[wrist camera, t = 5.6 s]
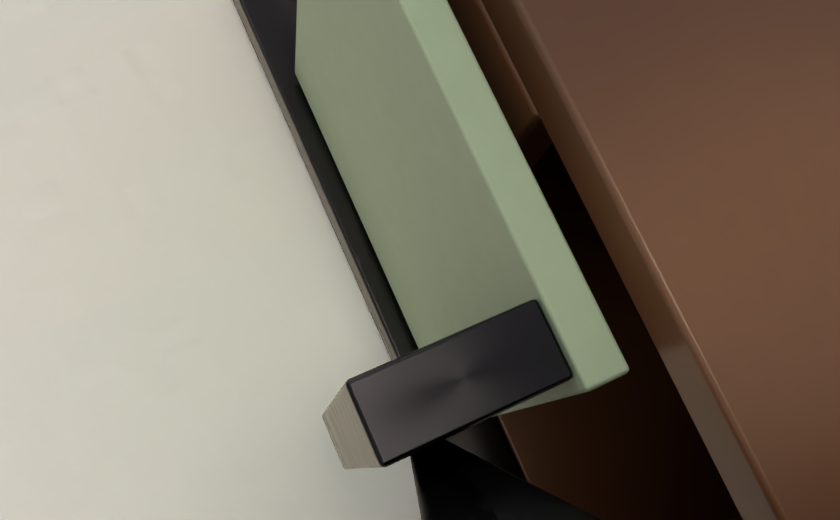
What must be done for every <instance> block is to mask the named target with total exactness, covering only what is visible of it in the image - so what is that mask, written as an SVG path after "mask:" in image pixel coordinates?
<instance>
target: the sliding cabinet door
mask: <svg viewBox="0 0 840 520" xmlns="http://www.w3.org/2000/svg"><path fill="white" fill-rule="evenodd" d="M295 74H296V76H297V78H298V81H299V83H300V85H301V87H302V90H303V92H304V94H305V96H306V98H307V101H308V103H309V105H310V107H311V110H312V112H313V114H314V116H315V119H316V121H317V123H318V125H319V127H320V130H321V132H322V134H323V136H324V139H325V141H326V143H327V145H328V148H329V150H330V152H331V154H332V156H333V159H334V161H335V163H336V165H337V168H338V170H339V172H340V174H341V177H342V179H343V181H344V183H345V185H346V188H347V190H348V192H349V194H350V197H351V199H352V201H353V203H354V206H355V208H356V210H357V212H358V214H359V217H360V219H361V221H362V223H363V226H364V228H365V230H366V232H367V235H368V237H369V239H370V241H371V244H372V246H373V248H374V250H375V252H376V255H377V257H378V259H379V261H380V264H381V266H382V268H383V270H384V273H385V275H386V277H387V279H388V281H389V284H390V286H391V288H392V290H393V293H394V295H395V297H396V299H397V302H398V304H399V306H400V308H401V310H402V313H403V315H404V317H405V319H406V322H407V324H408V326H409V328H410V331H411V333H412V335H413V337H414V339H415V342H416V344H417V346H418V348H419V349H417V350H415V351H412V352H410V353H408V354H405V355H403V356H401V357H399V358H396V359H394V360H392V361H389V362H387V363H385V364H383V365H380V366H378V367H376V368H373V369H371V370H369V371H366V372H364V373H362V374H360V375H357V376H355V377H353V378H350V379H348V380H347V381H346V382H345V384H344V385H343V387H342V388H341V390H340V391H339V392H338V394H337V395H336V397H335V398H334V399H333V401H332V402H331V404H330V405H329V407H328V408H327V409H326V411H325V412H324V414H323V420H324V422H325V425H326V427H327V429H328V432H329V434H330V437H331V439H332V441H333V444H334V446H335V449H336V451H337V453H338V456H339V458H340V461H341V463H342V465H343V467H344V468H345V469H355V468H376V467H387V466H389V465H391V464H394V463H396V462H398V461H400V460H402V459H404V458H406V457H408V456H410V455H413V454H415V453H417V452H419V451H421V450H423V449H425V448H427V447H430V446H432V445H434V444H436V443H438V442H440V441H442V440H444V439H446V438H449V437H451V436H453V435H455V434H457V433H459V432H461V431H463V430H465V429H468V428H470V427H472V426H474V425H476V424H478V423H480V422H482V421H484V420H487V419H489V418H491V417H494V416H498V415H502V414H505V413H509V412H513V411H517V410H521V409H524V408H528V407H532V406H536V405H540V404H544V403H547V402H551V401H555V400H559V399H563V398H566V397H570V396H574V395H578V394H582V393H585V392H589V391H592V390H594V389H596V388H598V387H600V386H602V385H604V384H606V383H609V382H611V381H613V380H615V379H617V378H619V377H621V376H623V375H625V374H627V372H628V371H629V367H628V365H627V363H626V361H625V359H624V357H623V355H622V353H621V351H620V349H619V347H618V345H617V343H616V341H615V339H614V337H613V335H612V333H611V331H610V329H609V327H608V325H607V323H606V320H605V318H604V316H603V314H602V312H601V310H600V308H599V306H598V304H597V302H596V300H595V298H594V296H593V294H592V292H591V290H590V288H589V286H588V284H587V282H586V280H585V278H584V276H583V274H582V272H581V270H580V268H579V266H578V264H577V262H576V260H575V258H574V256H573V254H572V252H571V250H570V248H569V246H568V244H567V242H566V240H565V238H564V236H563V234H562V232H561V230H560V228H559V226H558V224H557V222H556V219H555V217H554V215H553V213H552V211H551V209H550V207H549V205H548V203H547V201H546V199H545V197H544V195H543V193H542V191H541V189H540V187H539V185H538V183H537V181H536V179H535V177H534V175H533V173H532V171H531V169H530V167H529V165H528V163H527V161H526V159H525V157H524V155H523V153H522V151H521V149H520V147H519V145H518V143H517V141H516V139H515V137H514V135H513V133H512V131H511V129H510V127H509V125H508V123H507V121H506V118H505V116H504V114H503V112H502V110H501V108H500V106H499V104H498V102H497V100H496V98H495V96H494V94H493V92H492V90H491V88H490V86H489V84H488V82H487V80H486V78H485V76H484V74H483V72H482V70H481V68H480V66H479V64H478V62H477V60H476V58H475V56H474V54H473V52H472V50H471V48H470V46H469V44H468V42H467V40H466V38H465V36H464V34H463V32H462V30H461V28H460V26H459V24H458V22H457V19H456V17H455V15H454V13H453V11H452V9H451V7H450V5H449V3H448V1H447V0H297V21H296V52H295Z"/></svg>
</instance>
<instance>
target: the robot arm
mask: <svg viewBox="0 0 840 520" xmlns="http://www.w3.org/2000/svg"><path fill="white" fill-rule="evenodd" d="M411 462H412V468H413V474H414V479H415V485H416V490H417V496H418V501H419V507H420V513H421V518H422V520H601V519H599V518H597V517H595V516H593V515H591V514H589V513H588V512H586V511H584V510H582V509H580V508H578V507H576V506H574V505H572V504H570V503H568V502H566V501H564V500H562V499H560V498H558V497H556V496H554V495H552V494H550V493H549V492H547V491H545V490H543V489H541V488H539V487H537V486H535V485H533V484H531V483H529V482H527V481H525V480H523V479H521V478H519V477H517V476H515V475H513V474H512V473H510V472H508V471H506V470H504V469H502V468H500V467H498V466H496V465H494V464H492V463H490V462H488V461H486V460H484V459H482V458H480V457H478V456H476V455H474V454H473V453H471V452H469V451H467V450H465V449H463V448H461V447H459V446H457V445H455V444H453V443H451V442H449V441H447V440H445V439H444V440H442V441H440V442H438V443H436V444H434V445H432V446H430V447H427V448H425V449H423V450H421V451H419V452H417V453H415V454H413V455H411Z"/></svg>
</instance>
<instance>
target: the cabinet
mask: <svg viewBox="0 0 840 520" xmlns="http://www.w3.org/2000/svg"><path fill="white" fill-rule="evenodd" d="M233 1H234V4H235V6H236V8H237V10H238V13H239V15H240V17H241V19H242V22H243V24H244V26H245V29H246V31H247V33H248V35H249V38H250V40H251V42H252V44H253V47H254V49H255V51H256V53H257V56H258V58H259V60H260V63H261V65H262V67H263V69H264V72H265V74H266V76H267V78H268V81H269V83H270V85H271V88H272V90H273V92H274V94H275V97H276V99H277V101H278V103H279V106H280V108H281V110H282V112H283V115H284V117H285V119H286V122H287V124H288V126H289V128H290V131H291V133H292V135H293V137H294V140H295V142H296V144H297V147H298V149H299V151H300V153H301V156H302V158H303V160H304V162H305V165H306V167H307V169H308V171H309V174H310V176H311V178H312V181H313V183H314V185H315V187H316V190H317V192H318V194H319V196H320V199H321V201H322V203H323V206H324V208H325V210H326V212H327V215H328V217H329V219H330V221H331V224H332V226H333V228H334V231H335V233H336V235H337V237H338V240H339V242H340V244H341V246H342V249H343V251H344V253H345V255H346V258H347V260H348V262H349V265H350V267H351V269H352V271H353V274H354V276H355V278H356V280H357V283H358V285H359V287H360V290H361V292H362V294H363V296H364V299H365V301H366V303H367V305H368V308H369V310H370V312H371V314H372V317H373V319H374V321H375V324H376V326H377V328H378V330H379V333H380V335H381V337H382V339H383V342H384V344H385V346H386V349H387V351H388V353H389V355H390V358H391V360H394V359H396V358H399V357H401V356H403V355H405V354H408V353H410V352H412V351H415V350H417V349H419V348H418V346H417V344H416V342H415V339H414V337H413V335H412V333H411V331H410V328H409V326H408V324H407V322H406V319H405V317H404V315H403V313H402V310H401V308H400V306H399V304H398V302H397V299H396V297H395V295H394V293H393V290H392V288H391V286H390V284H389V281H388V279H387V277H386V275H385V273H384V270H383V268H382V266H381V264H380V261H379V259H378V257H377V255H376V252H375V250H374V248H373V246H372V244H371V241H370V239H369V237H368V235H367V232H366V230H365V228H364V226H363V223H362V221H361V219H360V217H359V214H358V212H357V210H356V208H355V206H354V203H353V201H352V199H351V197H350V194H349V192H348V190H347V188H346V185H345V183H344V181H343V179H342V177H341V174H340V172H339V170H338V168H337V165H336V163H335V161H334V159H333V156H332V154H331V152H330V150H329V148H328V145H327V143H326V141H325V139H324V136H323V134H322V132H321V130H320V127H319V125H318V123H317V121H316V119H315V116H314V114H313V112H312V110H311V107H310V105H309V103H308V101H307V98H306V96H305V94H304V92H303V90H302V87H301V85H300V83H299V81H298V78H297V76H296V74H295V52H296V21H297V0H233ZM447 1H448V3H449V5H450V7H451V9H452V11H453V13H454V15H455V17H456V19H457V22H458V24H459V26H460V28H461V30H462V32H463V34H464V36H465V38H466V40H467V42H468V44H469V46H470V48H471V50H472V52H473V54H474V56H475V58H476V60H477V62H478V64H479V66H480V68H481V70H482V72H483V74H484V76H485V78H486V80H487V82H488V84H489V86H490V88H491V90H492V92H493V94H494V96H495V98H496V100H497V102H498V104H499V106H500V108H501V110H502V112H503V114H504V116H505V118H506V121H507V123H508V125H509V127H510V129H511V131H512V133H513V135H514V137H515V139H516V141H517V143H518V145H519V147H520V149H521V151H522V153H523V155H524V157H525V159H526V161H527V163H528V165H529V167H530V169H531V171H532V173H533V175H534V177H535V179H536V181H537V183H538V185H539V187H540V189H541V191H542V193H543V195H544V197H545V199H546V201H547V203H548V205H549V207H550V209H551V211H552V213H553V215H554V217H555V219H556V222H557V224H558V226H559V228H560V230H561V232H562V234H563V236H564V238H565V240H566V242H567V244H568V246H569V248H570V250H571V252H572V254H573V256H574V258H575V260H576V262H577V264H578V266H579V268H580V270H581V272H582V274H583V276H584V278H585V280H586V282H587V284H588V286H589V288H590V290H591V292H592V294H593V296H594V298H595V300H596V302H597V304H598V306H599V308H600V310H601V312H602V314H603V316H604V318H605V320H606V323H607V325H608V327H609V329H610V331H611V333H612V335H613V337H614V339H615V341H616V343H617V345H618V347H619V349H620V351H621V353H622V355H623V357H624V359H625V361H626V363H627V365H628V367H629V371H628V372H627V374H625V375H623V376H621V377H619V378H617V379H615V380H613V381H611V382H609V383H606V384H604V385H602V386H600V387H598V388H596V389H594V390H592V391H589V392H585V393H582V394H578V395H574V396H570V397H566V398H563V399H559V400H555V401H551V402H547V403H544V404H540V405H536V406H532V407H528V408H524V409H521V410H517V411H513V412H509V413H505V414H502V415H498V416H494V417H491V418H489V419H487V420H484V421H482V422H480V423H478V424H476V425H474V426H472V427H470V428H468V429H465V430H463V431H461V432H459V433H457V434H455V435H453V436H451V437H449V438H446V439H445V440H447V441H449V442H451V443H453V444H455V445H457V446H459V447H461V448H463V449H465V450H467V451H469V452H471V453H473V454H474V455H476V456H478V457H480V458H482V459H484V460H486V461H488V462H490V463H492V464H494V465H496V466H498V467H500V468H502V469H504V470H506V471H508V472H510V473H512V474H513V475H515V476H517V477H519V478H521V479H523V480H525V481H527V482H529V483H531V484H533V485H535V486H537V487H539V488H541V489H543V490H545V491H547V492H549V493H550V494H552V495H554V496H556V497H558V498H560V499H562V500H564V501H566V502H568V503H570V504H572V505H574V506H576V507H578V508H580V509H582V510H584V511H586V512H588V513H589V514H591V515H593V516H595V517H597V518H599V519H601V520H840V0H447Z"/></svg>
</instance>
